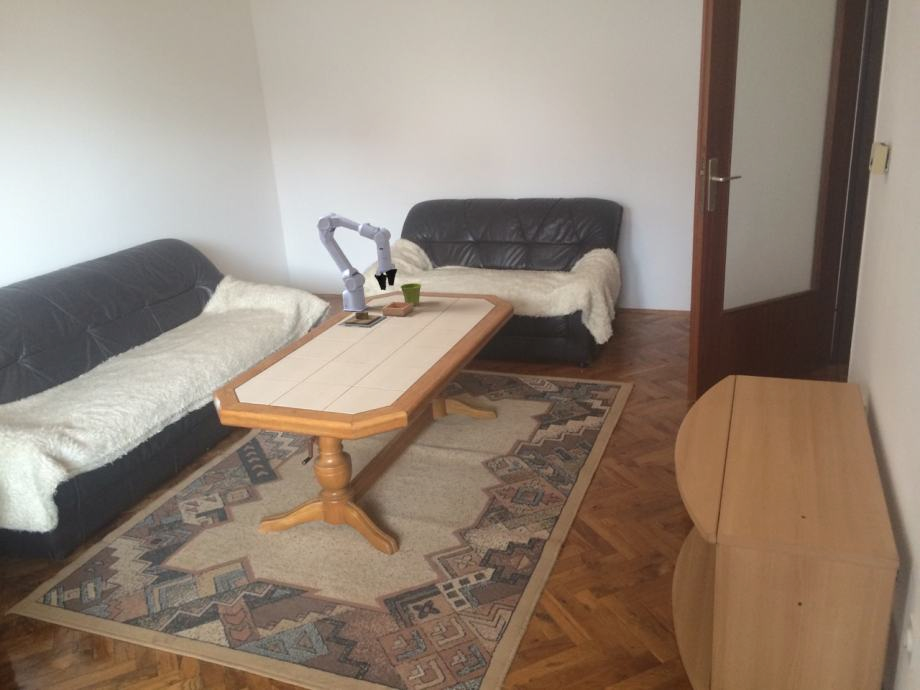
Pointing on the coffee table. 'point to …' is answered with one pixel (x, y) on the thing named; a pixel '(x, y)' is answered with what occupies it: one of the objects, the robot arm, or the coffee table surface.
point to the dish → (398, 309)
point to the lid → (362, 318)
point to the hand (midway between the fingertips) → (387, 287)
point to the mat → (364, 325)
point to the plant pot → (411, 293)
